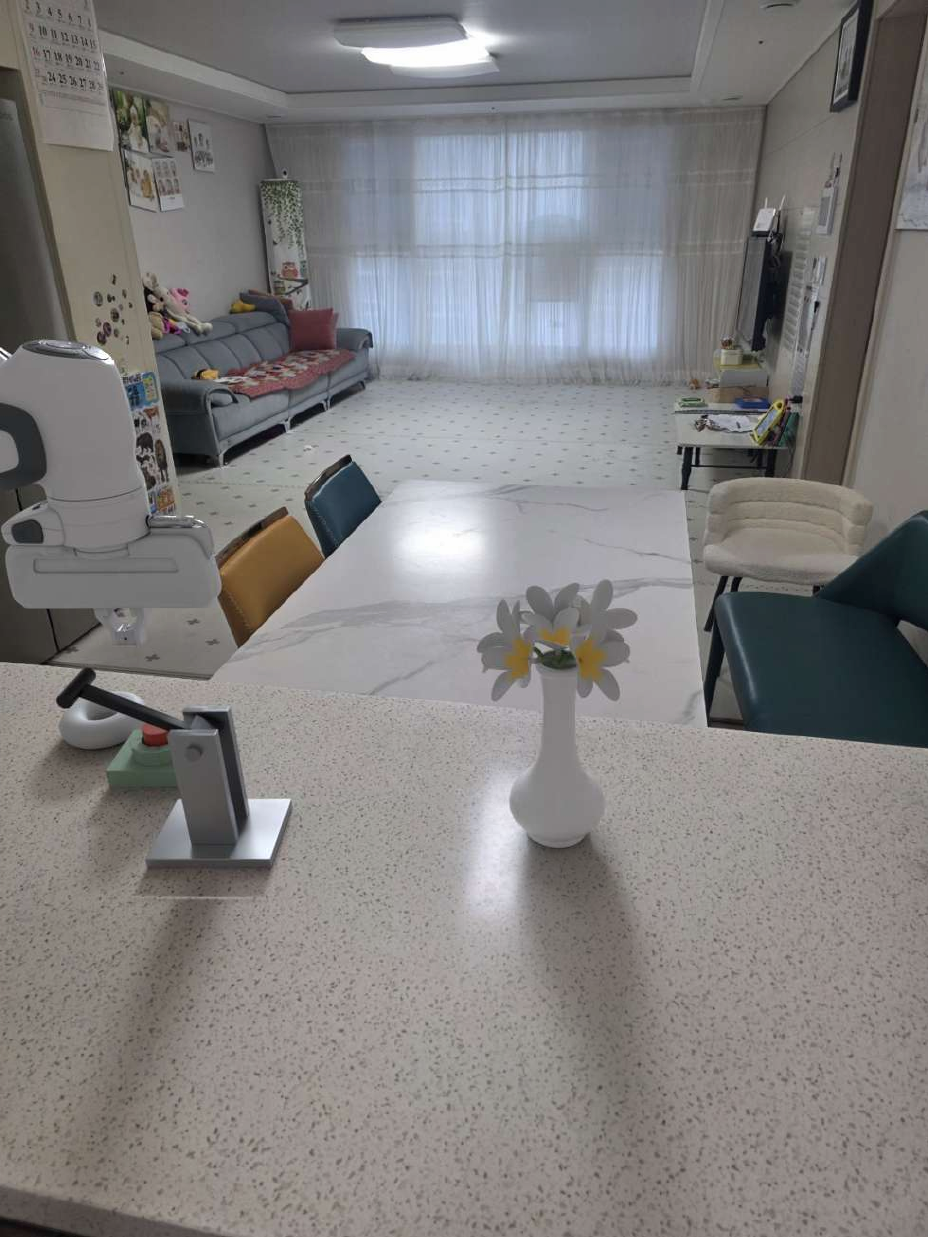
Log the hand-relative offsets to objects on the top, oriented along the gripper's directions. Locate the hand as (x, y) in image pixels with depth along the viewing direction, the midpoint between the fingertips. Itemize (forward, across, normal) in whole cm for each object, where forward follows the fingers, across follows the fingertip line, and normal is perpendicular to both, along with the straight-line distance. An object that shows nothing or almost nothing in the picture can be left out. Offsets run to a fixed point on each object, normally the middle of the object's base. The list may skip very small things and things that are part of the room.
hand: (130, 642), depth 86 cm
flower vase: (+16, -44, +10) cm, 47 cm away
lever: (+2, -5, +11) cm, 13 cm away
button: (+12, -1, -1) cm, 12 cm away
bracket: (+16, -11, +11) cm, 22 cm away
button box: (+16, -1, -1) cm, 16 cm away
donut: (+16, +9, -8) cm, 20 cm away
